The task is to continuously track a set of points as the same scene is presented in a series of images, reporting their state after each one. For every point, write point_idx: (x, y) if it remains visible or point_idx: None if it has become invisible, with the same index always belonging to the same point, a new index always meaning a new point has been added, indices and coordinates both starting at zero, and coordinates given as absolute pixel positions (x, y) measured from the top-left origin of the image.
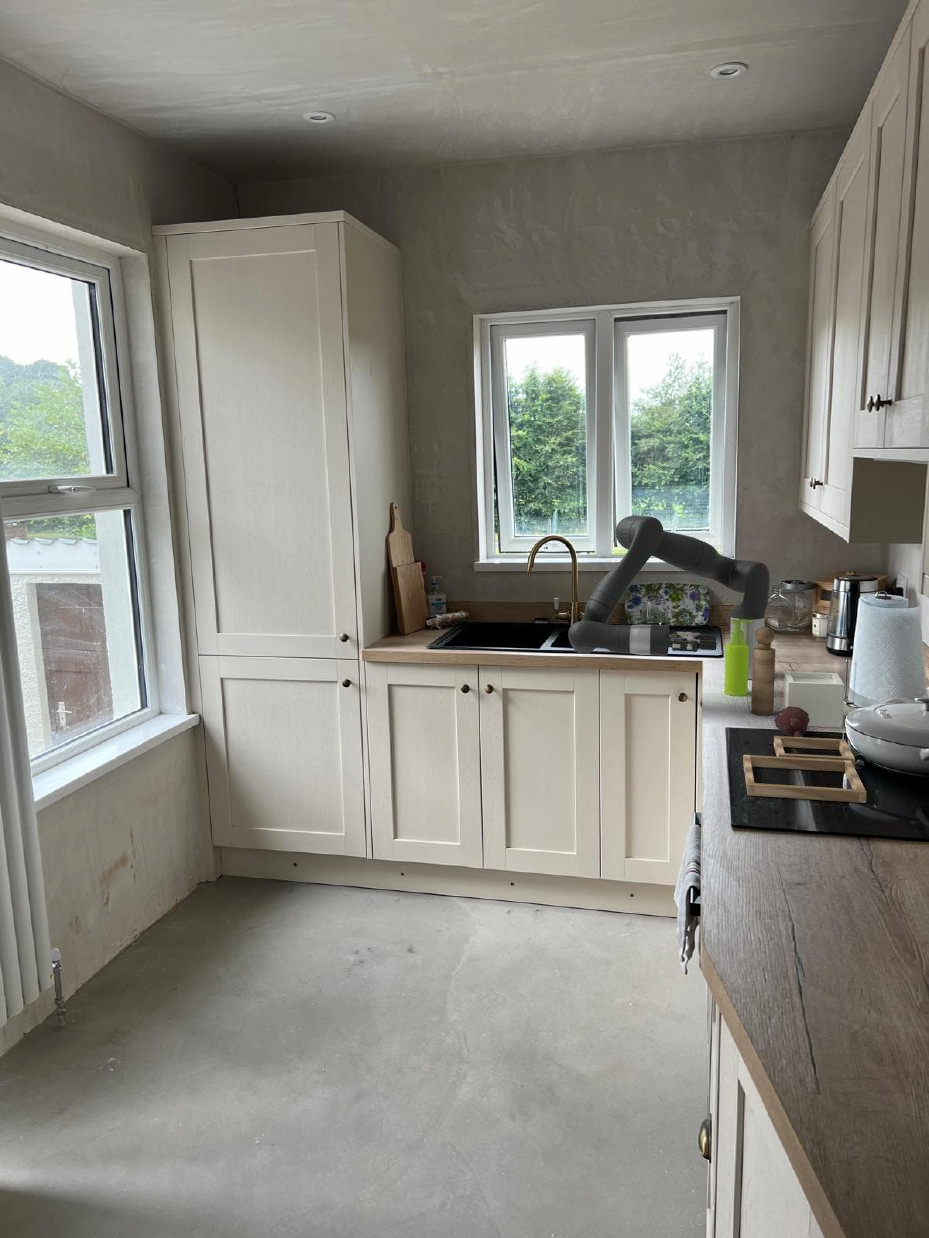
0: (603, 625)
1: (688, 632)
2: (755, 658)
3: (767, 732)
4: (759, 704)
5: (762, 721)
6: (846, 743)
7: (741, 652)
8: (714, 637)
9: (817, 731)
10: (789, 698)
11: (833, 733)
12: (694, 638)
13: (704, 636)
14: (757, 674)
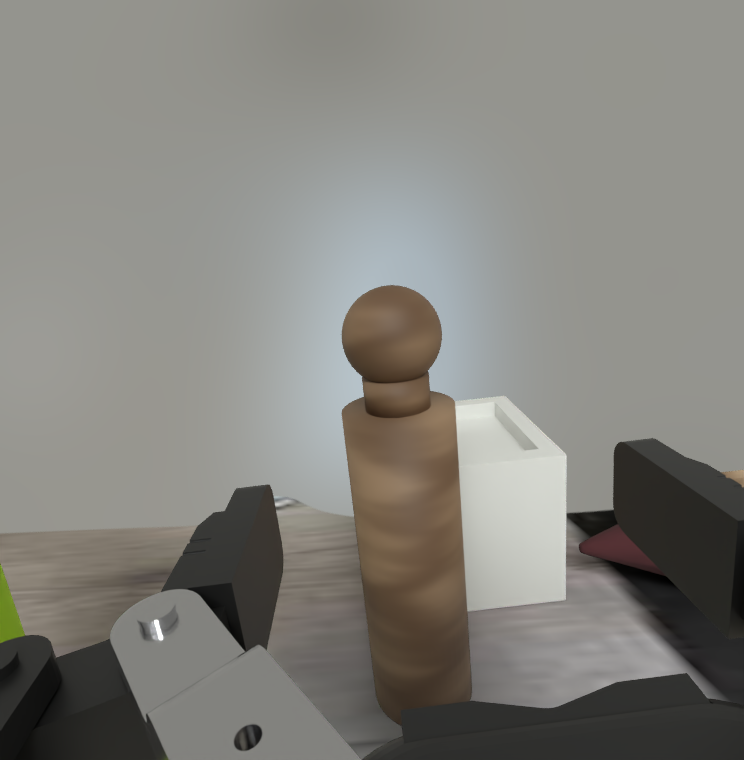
0: None
1: (223, 732)
2: (443, 462)
3: (724, 647)
4: (469, 650)
5: (565, 674)
6: (741, 470)
7: (2, 592)
8: (272, 507)
9: (583, 539)
10: (564, 509)
11: (577, 515)
12: (118, 755)
13: (247, 569)
14: (457, 532)
